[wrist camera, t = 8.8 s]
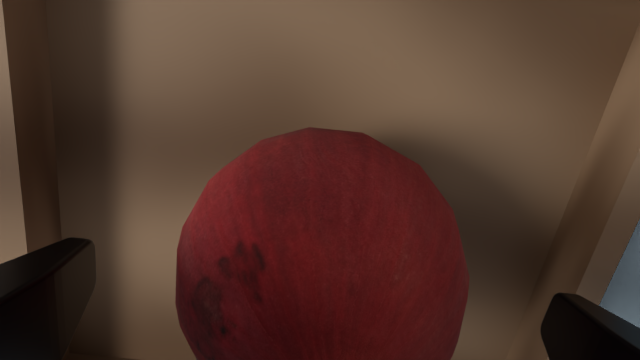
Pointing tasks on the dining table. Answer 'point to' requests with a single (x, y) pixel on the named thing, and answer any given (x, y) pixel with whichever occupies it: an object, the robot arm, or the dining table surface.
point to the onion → (321, 256)
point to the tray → (328, 113)
